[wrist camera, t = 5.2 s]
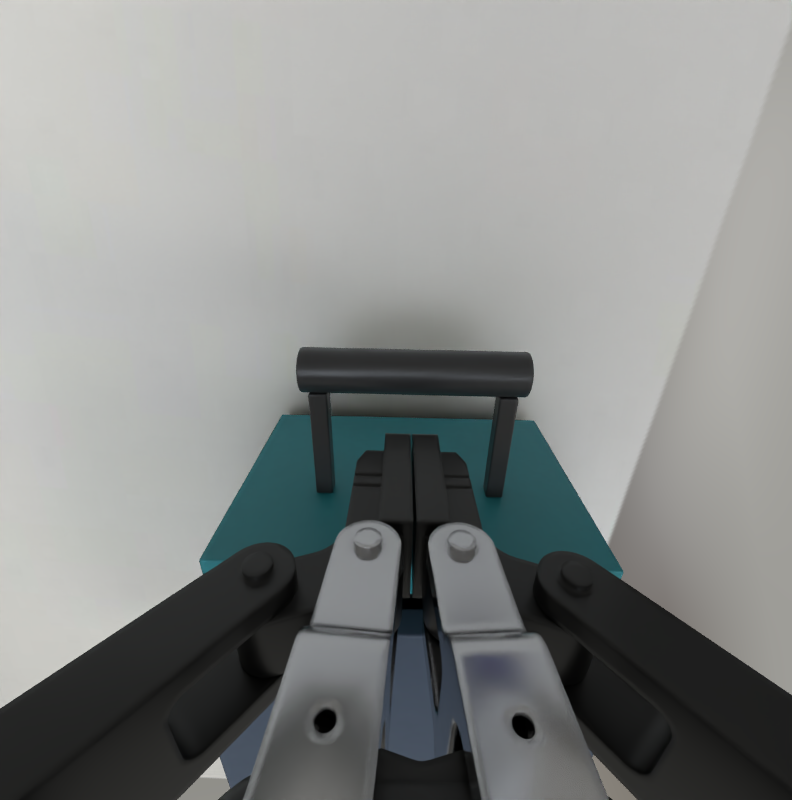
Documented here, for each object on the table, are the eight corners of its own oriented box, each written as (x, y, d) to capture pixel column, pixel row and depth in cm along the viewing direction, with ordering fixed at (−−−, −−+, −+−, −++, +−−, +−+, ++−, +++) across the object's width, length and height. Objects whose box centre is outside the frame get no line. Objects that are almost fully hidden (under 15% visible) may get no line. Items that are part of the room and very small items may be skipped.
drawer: (268, 304, 17) (152, 393, 9) (555, 310, 17) (686, 406, 9) (306, 613, 26) (263, 796, 18) (495, 619, 26) (536, 805, 18)
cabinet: (279, 433, 21) (173, 629, 12) (535, 440, 21) (646, 642, 11) (303, 628, 28) (251, 852, 18) (496, 634, 28) (545, 862, 18)
